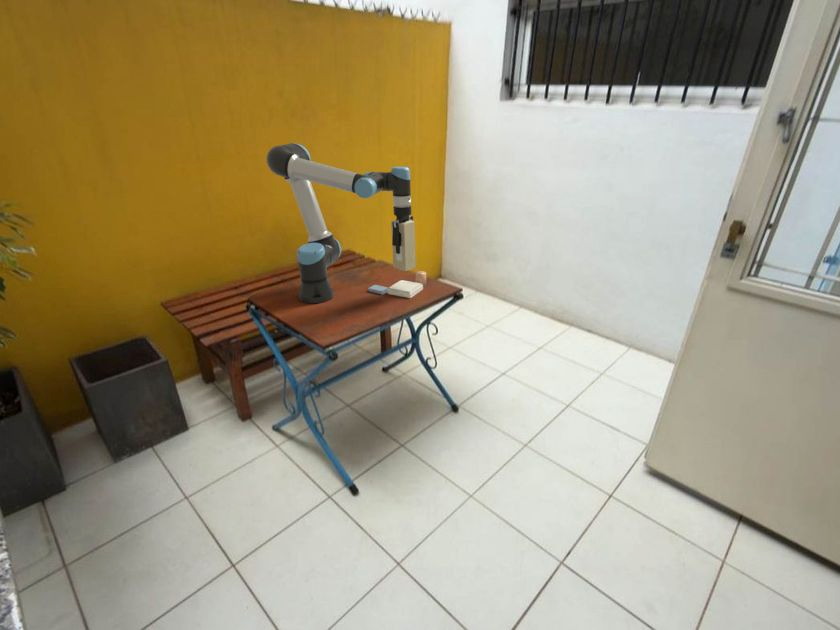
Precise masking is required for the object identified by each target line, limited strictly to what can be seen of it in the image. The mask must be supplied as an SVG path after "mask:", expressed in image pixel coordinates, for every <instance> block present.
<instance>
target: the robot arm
mask: <svg viewBox="0 0 840 630" xmlns="http://www.w3.org/2000/svg"><path fill="white" fill-rule="evenodd" d="M266 164H267V167H268V168H269V170H270V172H272V173H273V174H275V175H276V176H280V177H283V178H284V180H285V181H286V182H287V183H289V185H290V187H291V189H292V192H293V195H294V197H295V201H296V203H297V206H298V209H299V212H300V214H301V216H302V220H303V223H304V225H305V228H306V232H307V234H308V238H307V243H305V244H302V245H301V246H300V247H298V248H297V250H296V255H297V256H296V260H297V263H298V264H297V265H298V270H299V276H300V277H299V278H300V286H299V287H300V288H299V292H298V296H299V297H298V299H299V300H300V301H301V302H303V303H305V304H319V303H324V302H328V301H329V300H331V299H333V297H334V296H335V295H334V289H333V288H332V286H331V283H330V281H329V278H328V270H327V268H329V267H330V266H331V265H332V264H334V263H336V262H337V261H338V260H339V258H340V256H341V254H342V247H341V243H340V242H339V240H338V239H336V238H335V237H334V235H333V233H332V232H330V231H329V230H328V228H327V225H326V222H325V220H324V219H325V218H324V216H323V214H322V211H321V208H320V205H319V201H318V199H317V196H316V193H315V191H314V188H313V185H312V183H316V184H319V185H323V186H327V187H331V188H335V189H339V190H342V191H345V192H350V193H354V194H356V195H357V196H358V197H359V198H361V199H367V198H368V199H370V198H372V197H373V196H374V195H376V194H378V193H381V192H392V205H393V207H392V208H393V215H394V216H395V217H396V219H395V220H396V222H392V221H391V222H392V226H393V237H392V236H391V242H392V243H391V245H393V246H396V260H399V261H402V260H403V258H402V246H401V241H402V240H401V233H400V232H399V224H400V223H405V222H406V221H409V220H411V221H414V216H412V206H411V204H412V197H411V194H412V193H411V171H410V168H409V167H407V166H393V167H392V168H391V171H387V172H385V171H369V172H365V173H364V174H361V173H357V172H353V171H350V170H346V169H343V168H338V167H334V166H330V165H326V164H323V163H318V162H316V161H312V160H311V155H310V153H309V151H308V149H307V148H306V147H305V146H303V145H301V144H299V143H294V142H293V143H292V142H291V143H286V144H280V145H275V146H273V147H272V148H270V149H269V150H268V151H267V154H266Z"/></svg>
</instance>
